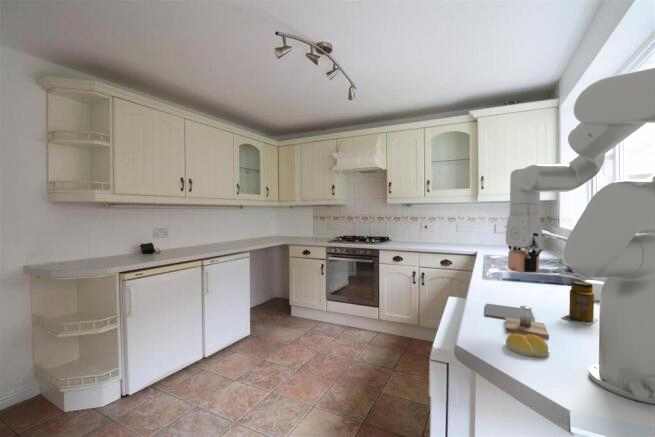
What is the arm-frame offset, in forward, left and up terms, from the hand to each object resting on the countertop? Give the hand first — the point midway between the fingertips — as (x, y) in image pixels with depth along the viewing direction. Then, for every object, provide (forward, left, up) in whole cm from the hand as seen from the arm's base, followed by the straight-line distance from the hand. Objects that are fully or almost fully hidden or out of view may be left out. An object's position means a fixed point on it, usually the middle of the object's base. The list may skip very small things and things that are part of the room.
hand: (523, 268), depth 90 cm
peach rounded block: (0, 0, -1) cm, 1 cm away
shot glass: (+50, -28, -18) cm, 60 cm away
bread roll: (-17, 0, -18) cm, 25 cm away
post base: (-2, -1, -18) cm, 18 cm away
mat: (+12, +3, -18) cm, 22 cm away
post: (-2, -1, -17) cm, 17 cm away
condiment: (+17, -17, -18) cm, 30 cm away
